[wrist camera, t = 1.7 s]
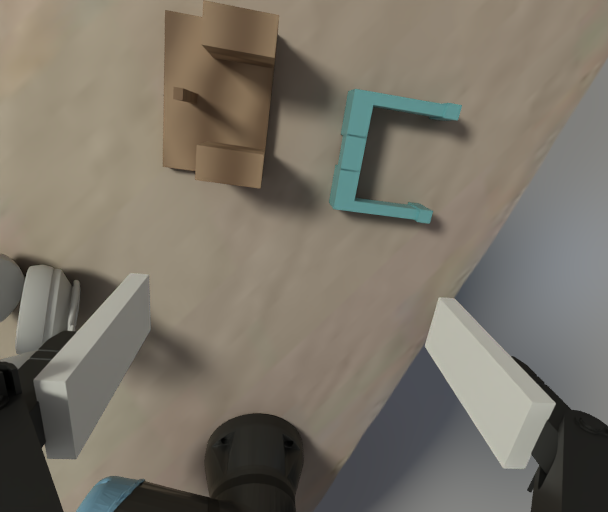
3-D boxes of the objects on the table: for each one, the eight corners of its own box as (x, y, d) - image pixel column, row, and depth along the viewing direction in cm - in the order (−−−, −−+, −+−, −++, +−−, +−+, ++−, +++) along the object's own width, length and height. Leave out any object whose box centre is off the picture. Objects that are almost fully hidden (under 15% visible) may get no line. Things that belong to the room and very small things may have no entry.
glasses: (444, 106, 41) (461, 105, 38) (416, 215, 46) (429, 223, 42) (348, 90, 40) (356, 86, 36) (328, 203, 44) (334, 211, 41)
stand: (277, 34, 38) (279, 12, 30) (262, 178, 43) (260, 190, 35) (168, 13, 36) (141, -15, 29) (165, 165, 41) (142, 174, 34)
